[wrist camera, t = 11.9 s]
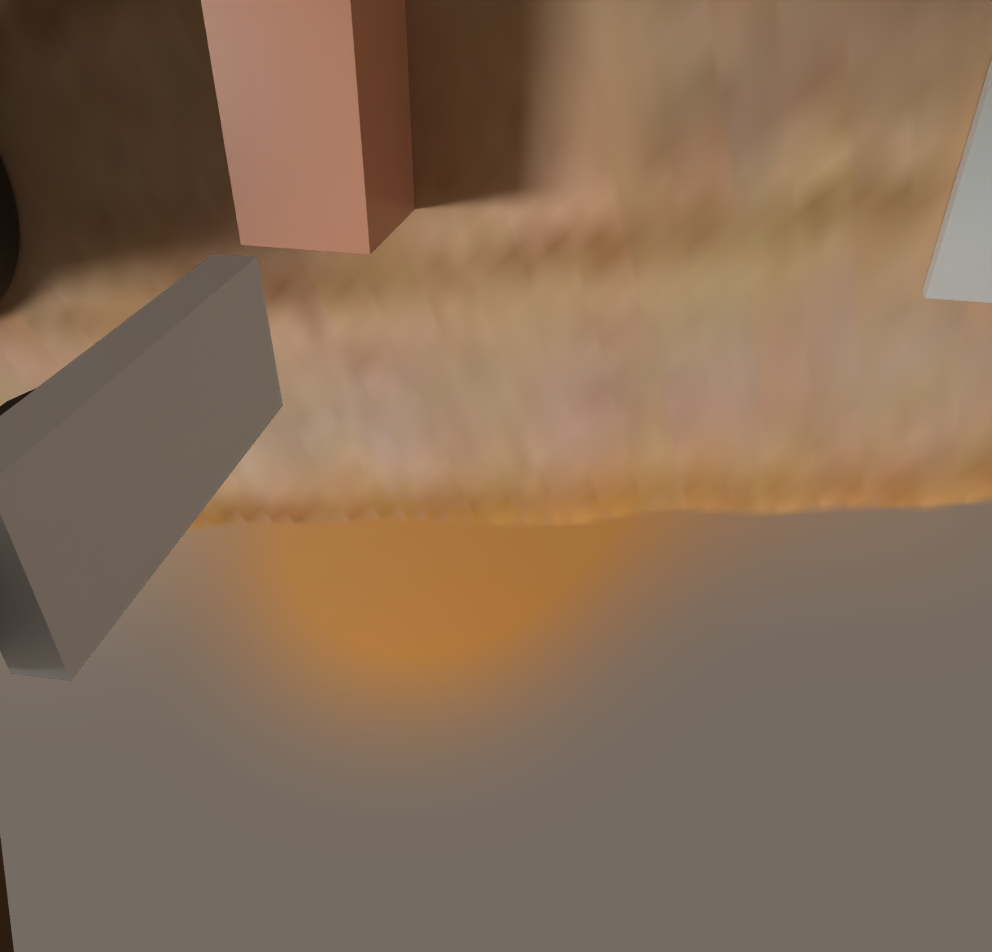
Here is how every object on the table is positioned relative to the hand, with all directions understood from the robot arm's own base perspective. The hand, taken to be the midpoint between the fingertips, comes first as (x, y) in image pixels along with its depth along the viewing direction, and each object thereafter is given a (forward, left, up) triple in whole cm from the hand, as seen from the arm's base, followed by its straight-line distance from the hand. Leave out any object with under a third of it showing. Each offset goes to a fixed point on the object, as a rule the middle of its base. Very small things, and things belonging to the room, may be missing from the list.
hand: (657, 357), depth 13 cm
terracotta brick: (-13, 0, -22) cm, 25 cm away
